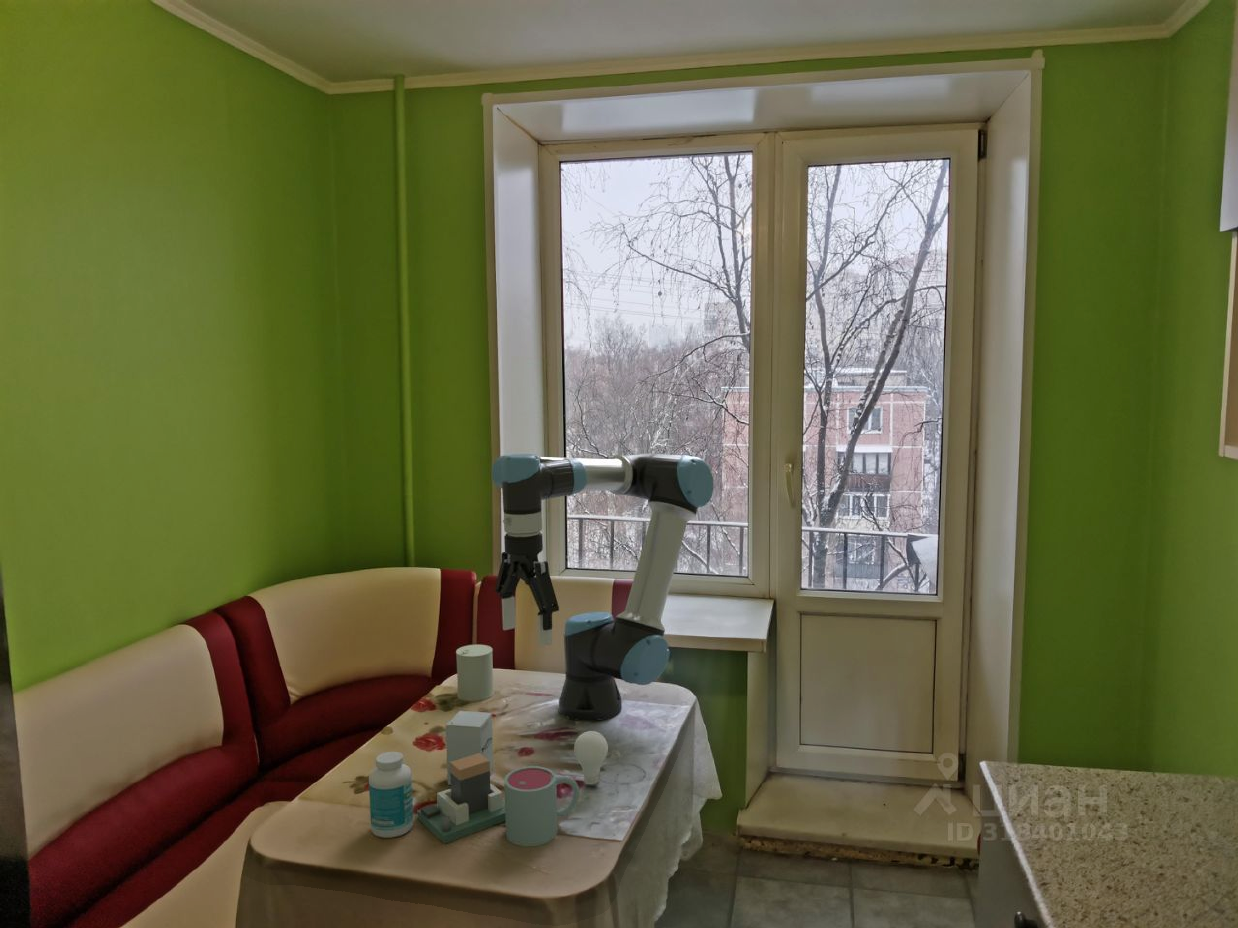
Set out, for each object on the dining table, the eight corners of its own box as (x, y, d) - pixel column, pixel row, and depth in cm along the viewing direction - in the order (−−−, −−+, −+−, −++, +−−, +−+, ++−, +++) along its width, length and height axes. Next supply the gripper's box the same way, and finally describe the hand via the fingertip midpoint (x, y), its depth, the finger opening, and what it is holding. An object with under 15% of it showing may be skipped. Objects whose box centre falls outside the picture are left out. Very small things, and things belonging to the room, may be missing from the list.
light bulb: (613, 780, 170) (612, 727, 169) (601, 796, 164) (600, 741, 163) (582, 775, 173) (581, 723, 171) (569, 791, 166) (568, 737, 165)
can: (450, 694, 217) (448, 648, 215) (480, 684, 223) (479, 639, 221) (470, 704, 210) (468, 657, 208) (501, 694, 216) (499, 648, 215)
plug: (481, 798, 161) (479, 752, 160) (491, 806, 158) (489, 760, 157) (451, 808, 158) (449, 761, 157) (461, 817, 154) (459, 770, 153)
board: (484, 793, 166) (484, 771, 165) (513, 817, 157) (513, 793, 157) (417, 817, 157) (416, 794, 157) (444, 843, 149) (443, 819, 148)
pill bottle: (414, 835, 151) (411, 763, 150) (371, 843, 149) (367, 769, 148) (412, 814, 158) (409, 745, 157) (371, 821, 156) (367, 751, 155)
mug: (513, 850, 146) (511, 795, 145) (500, 824, 155) (498, 771, 154) (588, 833, 151) (587, 779, 150) (571, 808, 160) (570, 757, 159)
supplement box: (482, 788, 168) (479, 727, 166) (446, 785, 169) (444, 724, 168) (494, 771, 175) (492, 711, 174) (460, 768, 177) (458, 709, 175)
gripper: (475, 526, 176) (480, 625, 179) (541, 545, 157) (545, 657, 159) (507, 521, 181) (511, 618, 184) (575, 539, 161) (578, 648, 164)
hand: (526, 636), depth 172 cm, fingers open, 13 cm apart
